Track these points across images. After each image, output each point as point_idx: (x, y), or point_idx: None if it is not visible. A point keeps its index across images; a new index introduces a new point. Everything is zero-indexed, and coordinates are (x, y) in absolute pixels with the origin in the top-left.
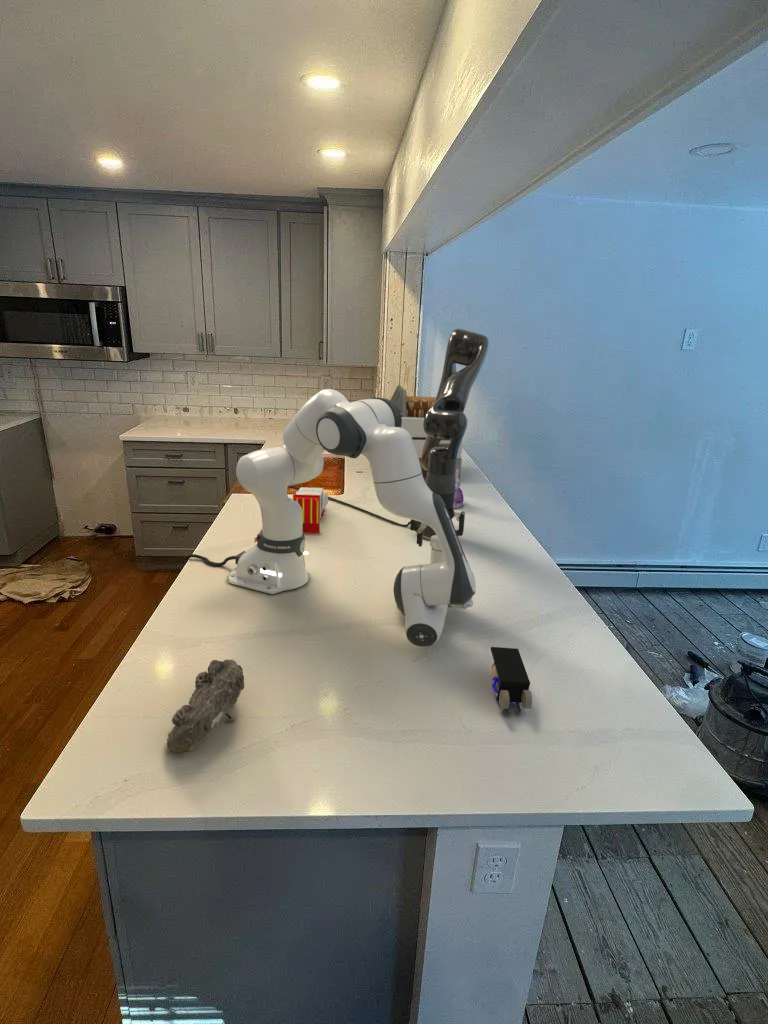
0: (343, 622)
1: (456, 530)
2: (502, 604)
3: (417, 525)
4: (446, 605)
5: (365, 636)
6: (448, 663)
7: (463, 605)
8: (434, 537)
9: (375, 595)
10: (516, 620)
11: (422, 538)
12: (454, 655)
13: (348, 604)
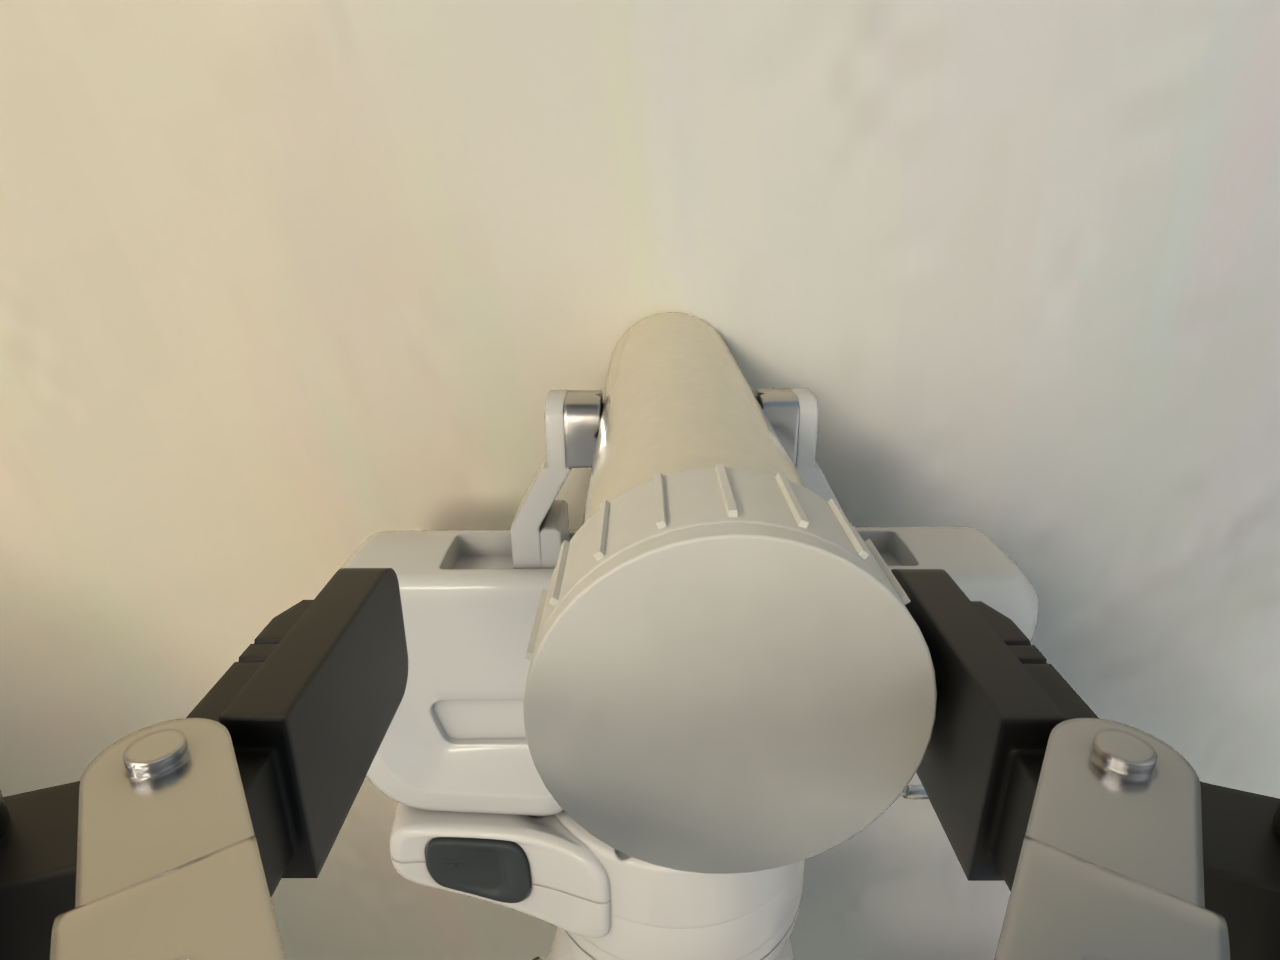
0: None
1: (1233, 907)
2: (1211, 285)
3: (19, 892)
4: (801, 892)
5: (359, 865)
6: (801, 952)
7: (922, 797)
8: (600, 711)
9: (216, 429)
10: (1256, 496)
11: (356, 670)
12: (828, 898)
13: (105, 600)
